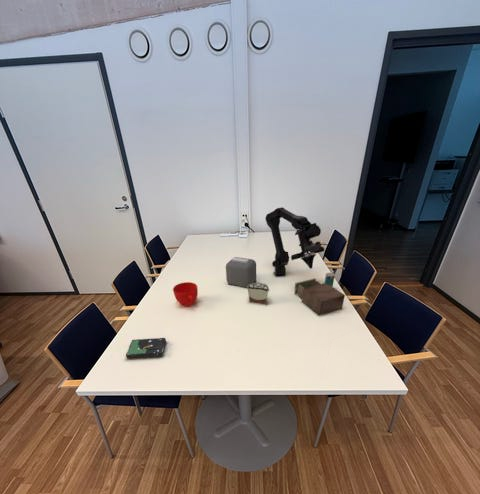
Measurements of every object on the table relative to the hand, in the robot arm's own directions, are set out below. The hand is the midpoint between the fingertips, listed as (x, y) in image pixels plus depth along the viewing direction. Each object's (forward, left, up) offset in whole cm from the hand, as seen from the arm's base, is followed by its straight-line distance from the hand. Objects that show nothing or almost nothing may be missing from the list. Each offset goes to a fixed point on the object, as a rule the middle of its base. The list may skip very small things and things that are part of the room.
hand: (311, 268), depth 148 cm
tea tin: (+11, -2, -14) cm, 17 cm away
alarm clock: (-38, +17, -14) cm, 44 cm away
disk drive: (-87, -40, -14) cm, 97 cm away
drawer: (-2, -7, -13) cm, 15 cm away
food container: (-31, -7, -14) cm, 35 cm away
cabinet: (+1, -18, -14) cm, 23 cm away
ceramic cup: (-70, -4, -14) cm, 71 cm away
